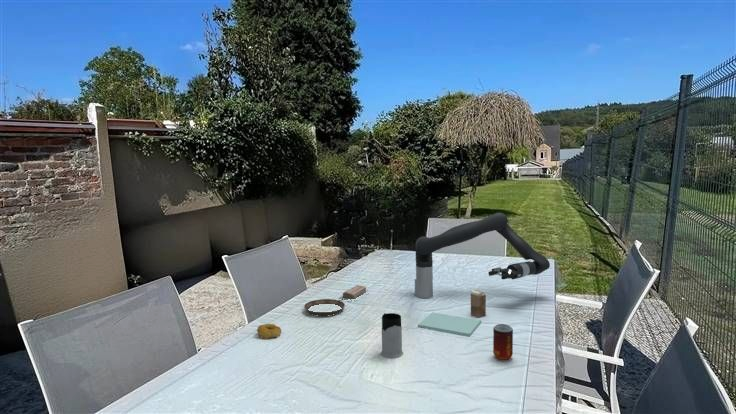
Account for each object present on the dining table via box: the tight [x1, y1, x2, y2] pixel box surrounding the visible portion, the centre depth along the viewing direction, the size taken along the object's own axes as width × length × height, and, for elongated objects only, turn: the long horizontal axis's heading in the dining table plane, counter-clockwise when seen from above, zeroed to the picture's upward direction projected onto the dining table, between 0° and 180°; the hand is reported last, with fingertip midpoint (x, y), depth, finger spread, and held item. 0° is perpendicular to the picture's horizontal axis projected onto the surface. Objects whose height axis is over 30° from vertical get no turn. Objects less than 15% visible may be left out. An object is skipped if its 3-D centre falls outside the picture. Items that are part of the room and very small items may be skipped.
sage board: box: [417, 311, 482, 337], centre depth 200 cm, size 24×18×1 cm
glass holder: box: [380, 312, 404, 359], centre depth 173 cm, size 9×14×15 cm, turn 15°
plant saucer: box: [303, 298, 346, 317], centre depth 223 cm, size 21×21×3 cm
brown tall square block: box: [470, 288, 487, 319], centre depth 211 cm, size 5×5×12 cm
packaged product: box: [338, 285, 367, 301], centre depth 245 cm, size 18×5×10 cm
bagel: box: [256, 323, 282, 339], centre depth 192 cm, size 10×11×5 cm
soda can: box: [492, 323, 514, 362], centre depth 165 cm, size 7×7×12 cm
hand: (495, 275), depth 215 cm, fingers open, 8 cm apart
